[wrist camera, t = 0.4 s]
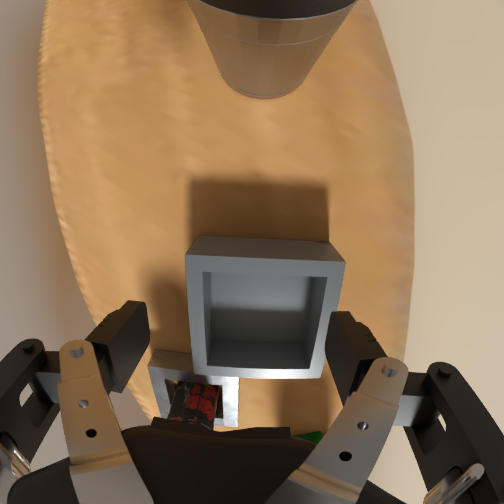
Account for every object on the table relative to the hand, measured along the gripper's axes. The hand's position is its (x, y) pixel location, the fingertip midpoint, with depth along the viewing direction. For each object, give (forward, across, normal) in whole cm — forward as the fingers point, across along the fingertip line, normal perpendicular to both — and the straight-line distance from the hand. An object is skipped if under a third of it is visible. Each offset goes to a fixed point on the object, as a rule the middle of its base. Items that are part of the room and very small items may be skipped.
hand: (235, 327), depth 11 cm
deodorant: (+20, +6, +22) cm, 30 cm away
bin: (+19, -2, +7) cm, 20 cm away
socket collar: (+20, +6, +22) cm, 30 cm away
